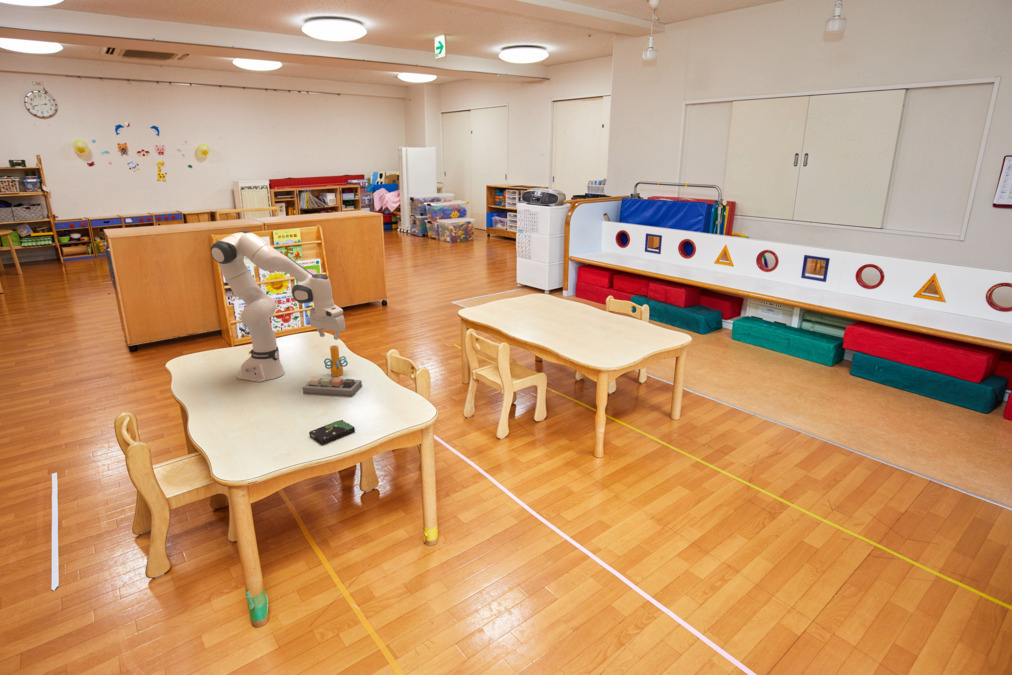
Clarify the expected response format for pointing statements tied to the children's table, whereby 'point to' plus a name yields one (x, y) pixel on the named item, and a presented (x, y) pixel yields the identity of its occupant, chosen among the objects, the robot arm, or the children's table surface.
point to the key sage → (326, 381)
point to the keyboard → (332, 389)
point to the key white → (315, 381)
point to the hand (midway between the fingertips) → (329, 337)
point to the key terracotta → (337, 382)
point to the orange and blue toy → (335, 362)
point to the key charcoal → (348, 383)
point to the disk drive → (331, 432)
